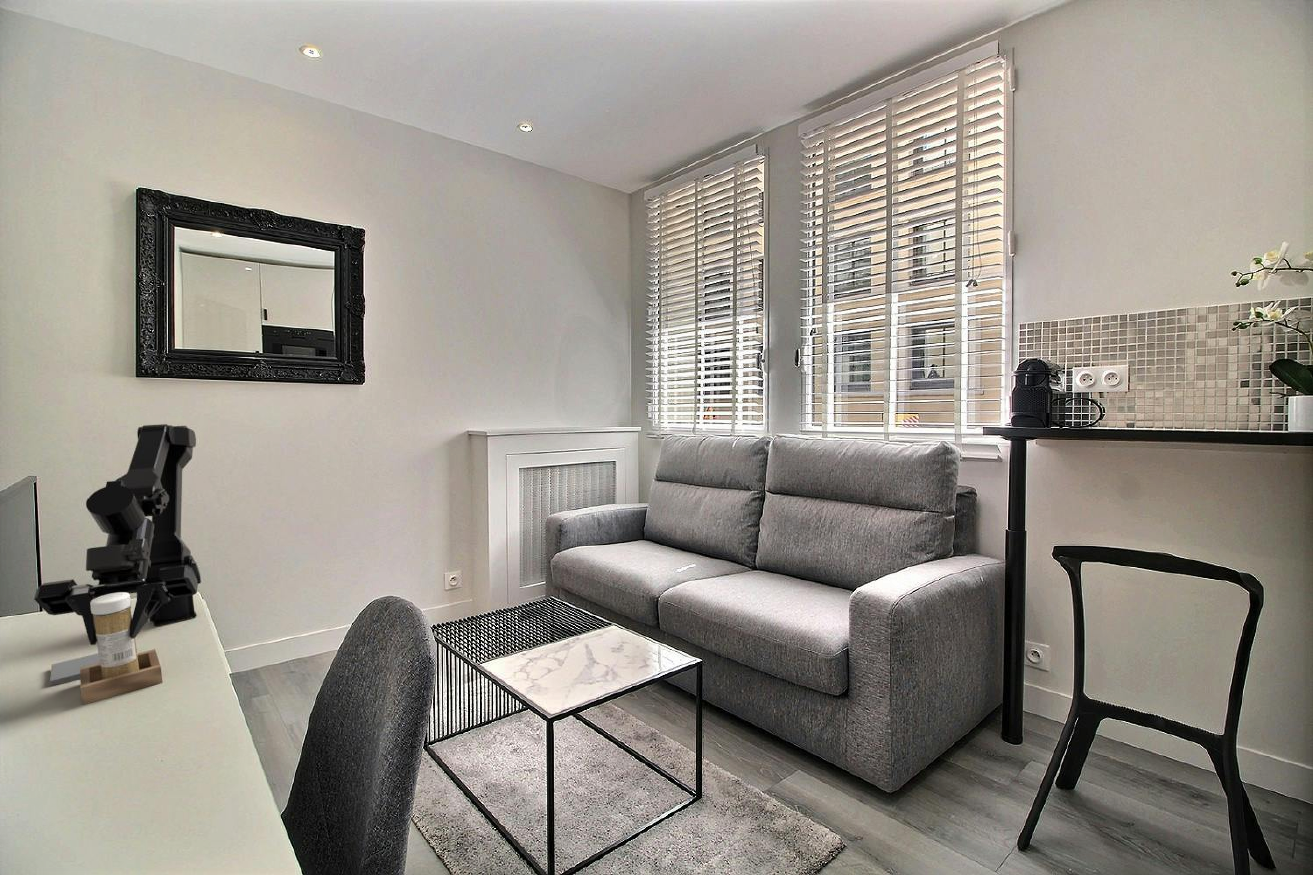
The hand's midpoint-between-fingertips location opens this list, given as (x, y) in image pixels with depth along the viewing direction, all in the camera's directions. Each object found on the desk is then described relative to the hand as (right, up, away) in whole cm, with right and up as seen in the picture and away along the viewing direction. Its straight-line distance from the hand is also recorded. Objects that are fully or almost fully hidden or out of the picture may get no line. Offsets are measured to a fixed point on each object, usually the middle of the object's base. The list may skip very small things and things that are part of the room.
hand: (112, 640), depth 94 cm
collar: (0, -7, +2) cm, 8 cm away
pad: (-10, -7, +8) cm, 15 cm away
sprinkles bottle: (0, -7, +2) cm, 7 cm away
